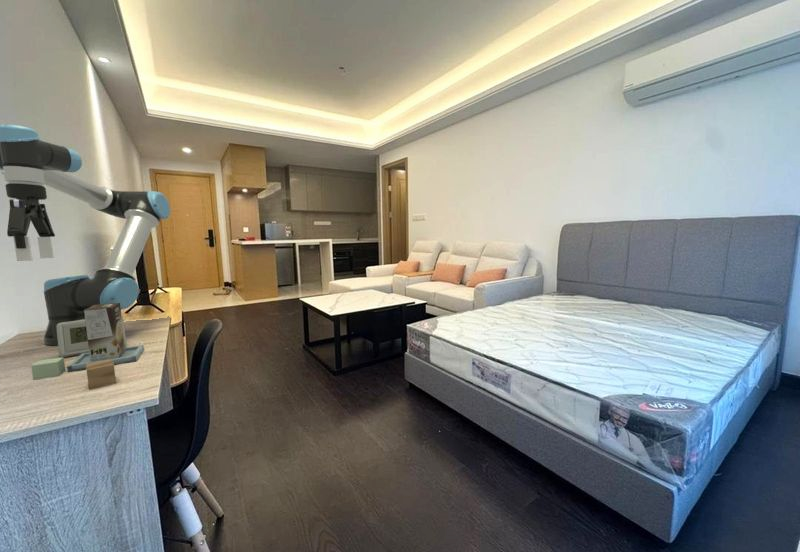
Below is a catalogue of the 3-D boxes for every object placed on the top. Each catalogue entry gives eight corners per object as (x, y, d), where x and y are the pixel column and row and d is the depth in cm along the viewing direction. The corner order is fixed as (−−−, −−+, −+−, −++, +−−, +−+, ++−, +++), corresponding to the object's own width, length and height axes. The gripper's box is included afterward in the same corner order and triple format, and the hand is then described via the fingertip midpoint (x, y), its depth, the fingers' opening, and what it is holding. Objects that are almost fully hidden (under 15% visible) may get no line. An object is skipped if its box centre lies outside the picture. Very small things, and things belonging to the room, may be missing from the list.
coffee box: (118, 360, 97) (112, 307, 95) (90, 364, 93) (82, 310, 91) (126, 351, 104) (120, 302, 103) (99, 354, 101) (93, 304, 99)
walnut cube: (88, 383, 83) (86, 364, 82) (114, 377, 86) (112, 359, 86) (89, 389, 79) (86, 370, 79) (116, 383, 83) (113, 364, 82)
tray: (82, 358, 100) (82, 353, 100) (143, 349, 108) (143, 344, 107) (67, 372, 90) (66, 366, 90) (136, 361, 97) (135, 356, 97)
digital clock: (56, 360, 99) (51, 326, 98) (66, 351, 107) (62, 319, 106) (124, 349, 108) (120, 318, 106) (129, 342, 115) (126, 313, 114)
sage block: (40, 374, 89) (38, 360, 88) (65, 370, 91) (63, 357, 91) (33, 380, 85) (31, 365, 85) (59, 376, 88) (57, 361, 87)
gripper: (28, 189, 101) (38, 257, 104) (-22, 176, 79) (-8, 262, 82) (61, 190, 105) (70, 256, 107) (22, 178, 83) (34, 261, 86)
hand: (36, 259), depth 95 cm, fingers open, 13 cm apart
